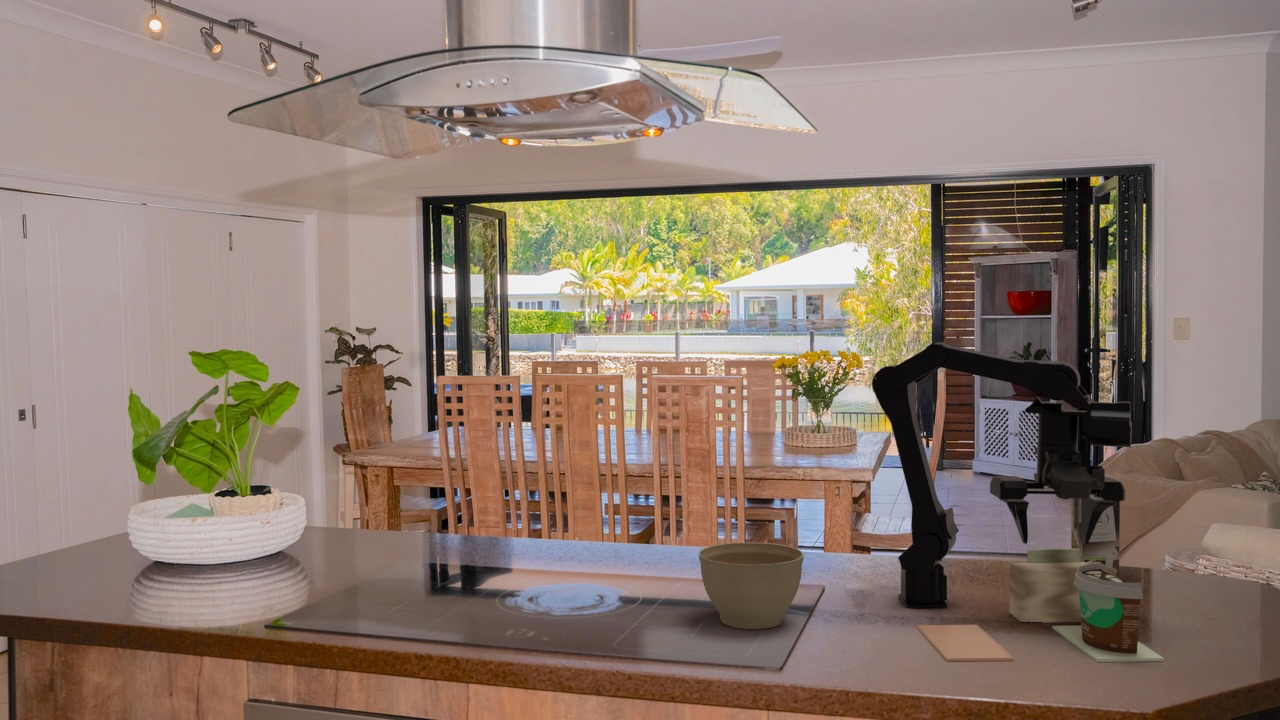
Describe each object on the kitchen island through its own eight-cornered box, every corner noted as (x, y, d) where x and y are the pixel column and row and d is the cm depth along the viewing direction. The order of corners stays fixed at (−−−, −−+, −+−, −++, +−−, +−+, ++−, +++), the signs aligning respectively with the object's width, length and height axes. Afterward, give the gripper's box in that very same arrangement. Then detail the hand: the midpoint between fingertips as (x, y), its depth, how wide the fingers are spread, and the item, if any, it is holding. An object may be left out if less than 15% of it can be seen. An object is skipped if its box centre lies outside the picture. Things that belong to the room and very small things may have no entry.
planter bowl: (824, 620, 158) (824, 551, 157) (760, 645, 146) (759, 570, 146) (743, 601, 169) (743, 536, 169) (678, 622, 158) (677, 553, 157)
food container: (1058, 630, 150) (1058, 563, 149) (1100, 629, 150) (1100, 562, 150) (1097, 658, 138) (1097, 584, 137) (1142, 657, 138) (1143, 584, 137)
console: (1021, 622, 155) (1021, 557, 155) (1008, 612, 161) (1008, 549, 160) (1113, 621, 155) (1113, 556, 155) (1096, 611, 161) (1097, 548, 160)
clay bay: (947, 661, 138) (947, 658, 138) (917, 628, 153) (917, 625, 153) (1013, 660, 138) (1013, 657, 138) (976, 627, 153) (976, 624, 153)
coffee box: (1120, 584, 176) (1121, 492, 176) (1081, 583, 178) (1081, 491, 177) (1107, 571, 185) (1108, 483, 185) (1070, 570, 187) (1070, 483, 186)
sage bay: (1097, 662, 137) (1097, 659, 137) (1052, 628, 152) (1052, 625, 152) (1164, 661, 137) (1164, 658, 137) (1112, 627, 152) (1112, 625, 152)
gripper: (1013, 449, 148) (1010, 555, 149) (1143, 451, 148) (1140, 557, 149) (990, 440, 160) (987, 538, 160) (1110, 441, 159) (1107, 540, 160)
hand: (1054, 543), depth 157 cm, fingers open, 9 cm apart
